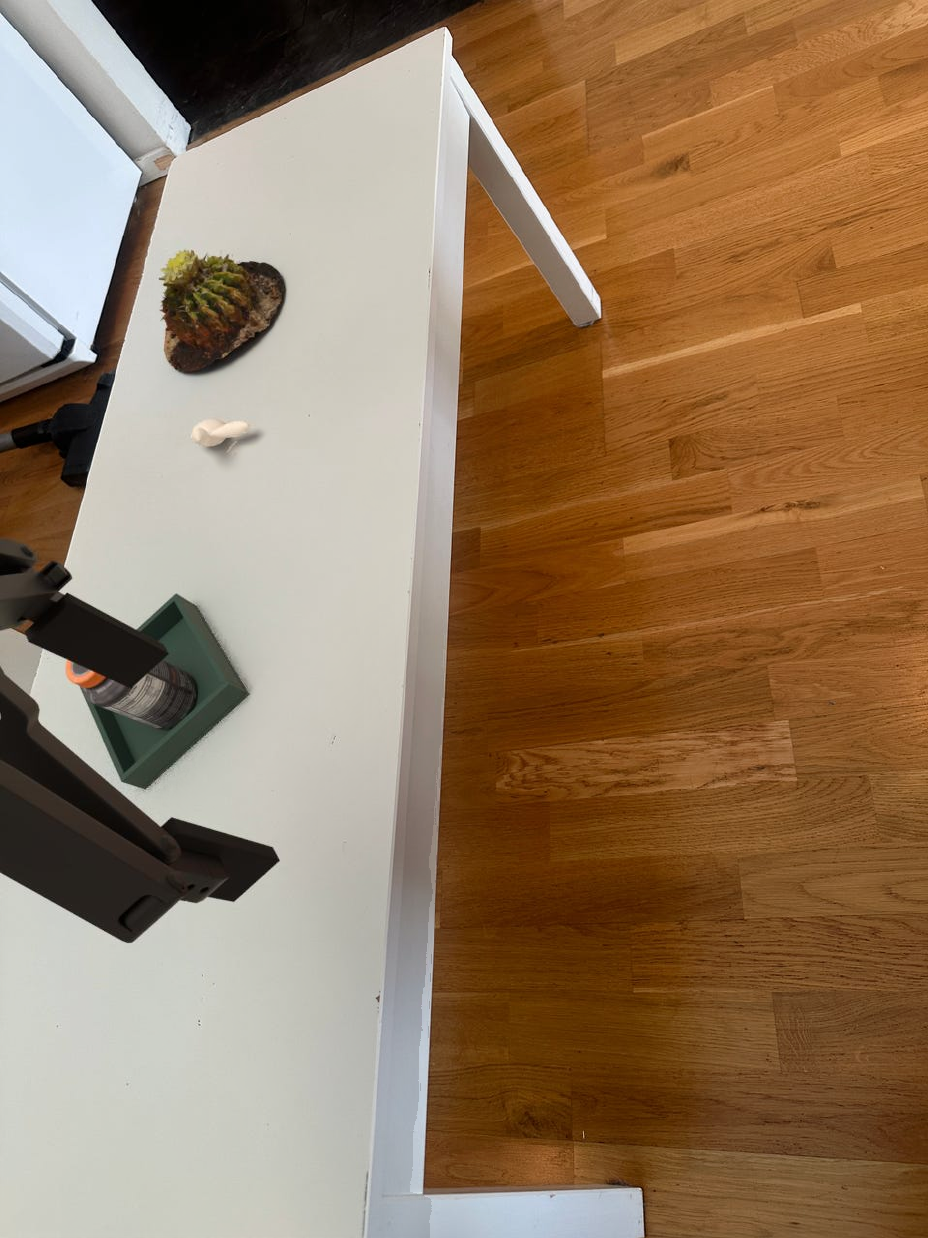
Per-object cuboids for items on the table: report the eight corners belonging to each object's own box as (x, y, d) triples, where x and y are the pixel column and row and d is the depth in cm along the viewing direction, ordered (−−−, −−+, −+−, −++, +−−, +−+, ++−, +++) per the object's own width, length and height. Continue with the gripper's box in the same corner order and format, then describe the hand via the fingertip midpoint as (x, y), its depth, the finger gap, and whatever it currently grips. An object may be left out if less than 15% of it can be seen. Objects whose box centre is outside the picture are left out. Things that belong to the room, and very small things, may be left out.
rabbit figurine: (225, 413, 95) (246, 408, 88) (237, 447, 96) (259, 445, 90) (174, 428, 93) (192, 424, 86) (187, 462, 94) (205, 462, 87)
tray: (249, 694, 78) (229, 683, 75) (144, 789, 78) (121, 782, 76) (196, 605, 85) (175, 592, 83) (100, 692, 86) (77, 683, 83)
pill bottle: (148, 682, 83) (57, 639, 73) (198, 663, 81) (111, 617, 72) (147, 739, 80) (52, 702, 70) (199, 721, 78) (108, 680, 69)
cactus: (265, 243, 105) (215, 178, 97) (302, 315, 97) (251, 250, 89) (157, 323, 108) (99, 267, 100) (183, 400, 99) (123, 345, 91)
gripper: (-157, 820, 16) (382, 926, 33) (-256, 275, 29) (162, 554, 47) (-445, 1084, 16) (242, 1051, 34) (-409, 420, 30) (64, 644, 47)
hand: (196, 761), depth 40 cm, fingers open, 13 cm apart
